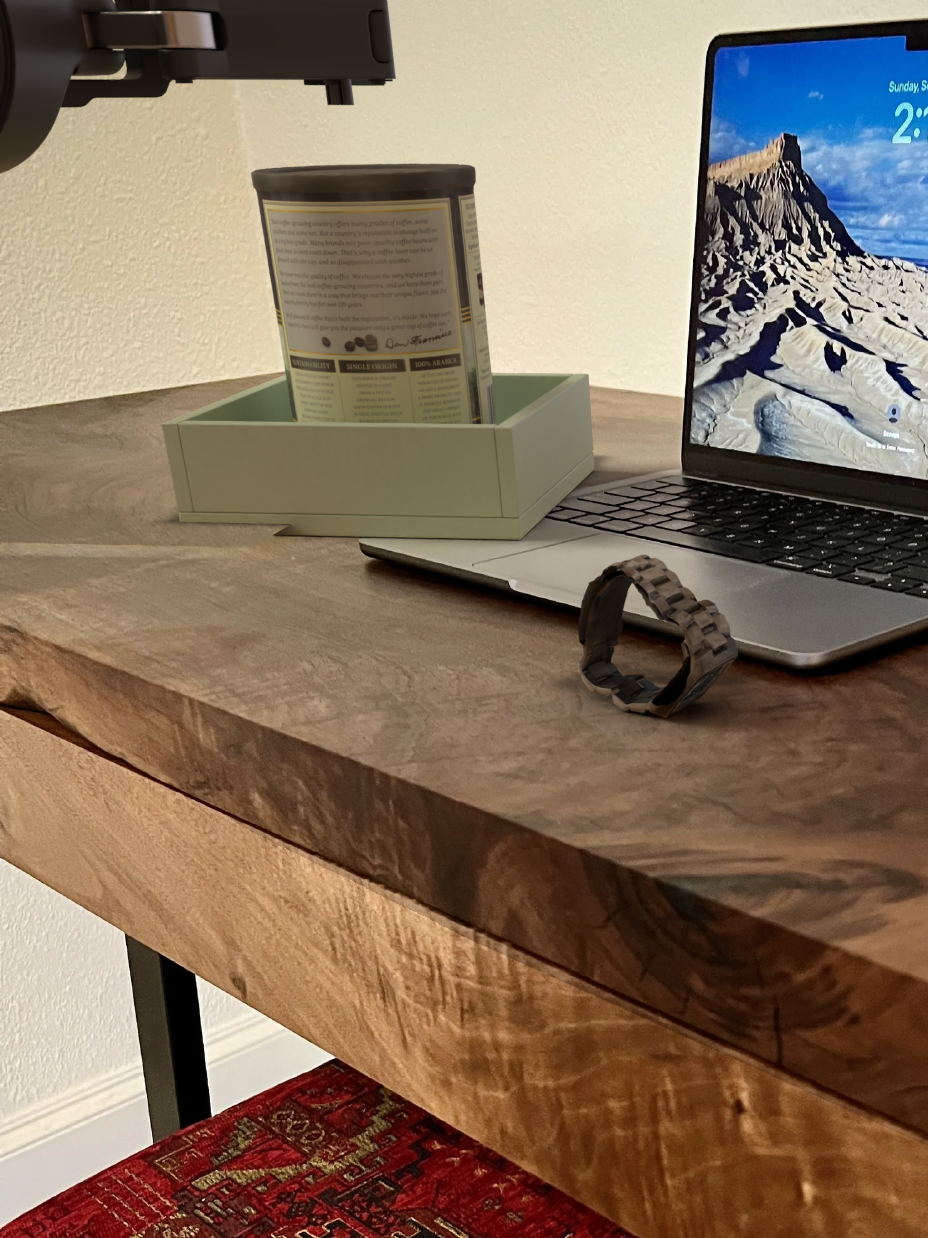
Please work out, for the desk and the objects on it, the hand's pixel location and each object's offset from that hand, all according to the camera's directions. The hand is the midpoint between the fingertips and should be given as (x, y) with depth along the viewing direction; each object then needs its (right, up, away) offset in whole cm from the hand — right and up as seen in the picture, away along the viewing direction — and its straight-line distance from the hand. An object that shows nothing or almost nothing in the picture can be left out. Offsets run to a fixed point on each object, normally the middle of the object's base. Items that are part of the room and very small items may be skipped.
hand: (198, 45), depth 61 cm
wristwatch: (+18, -27, -7) cm, 33 cm away
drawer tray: (+3, -10, +22) cm, 24 cm away
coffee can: (+3, -9, +21) cm, 23 cm away
